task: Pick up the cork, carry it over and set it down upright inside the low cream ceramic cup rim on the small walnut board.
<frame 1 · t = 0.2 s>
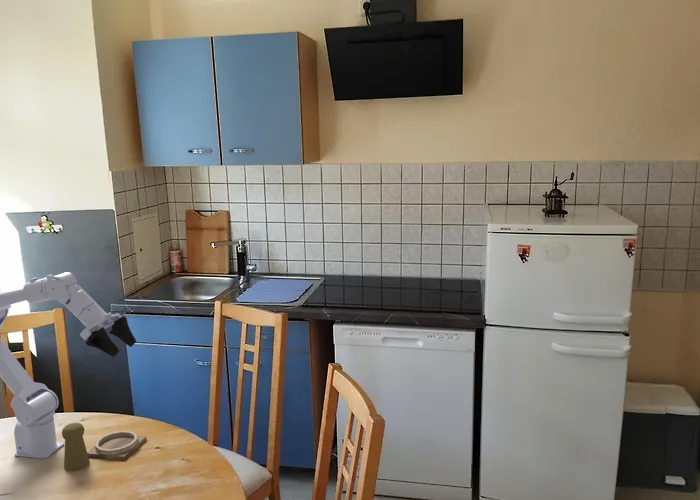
hand: (125, 349, 149), 30 cm above the table, tool tilted 45°, fingers open, 7 cm apart
cup holder: (117, 447, 161), on the table
cork: (77, 465, 153), on the table
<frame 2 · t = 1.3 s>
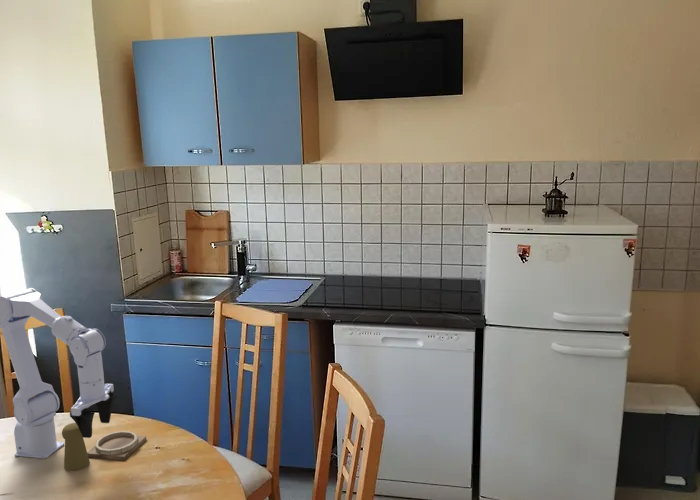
hand: (96, 429, 150), 10 cm above the table, tool pointing down, fingers open, 7 cm apart
nothing on the table moved.
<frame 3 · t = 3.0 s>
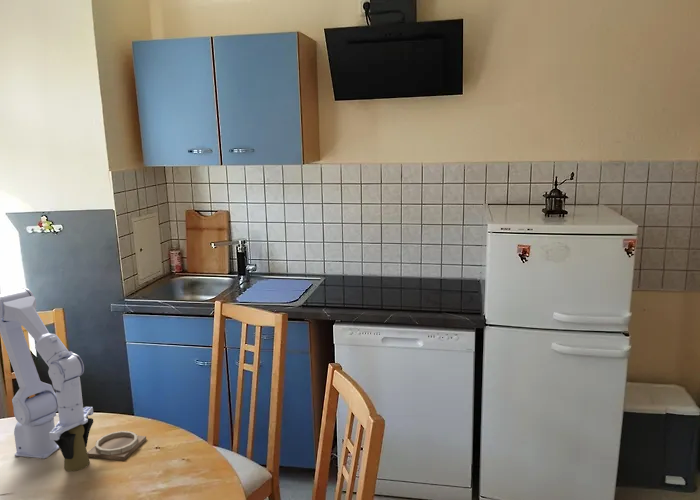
hand: (75, 452, 152), 3 cm above the table, tool pointing down, fingers closed on cork, 5 cm apart
cork: (77, 465, 153), on the table, touching gripper
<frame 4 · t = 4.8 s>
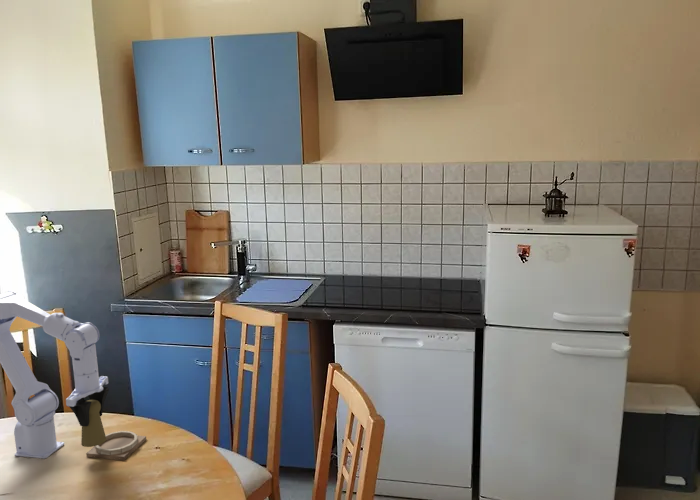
hand: (91, 420, 155), 10 cm above the table, tool pointing down, fingers closed on cork, 5 cm apart
cork: (94, 442, 155), point 4 cm above the table, touching gripper
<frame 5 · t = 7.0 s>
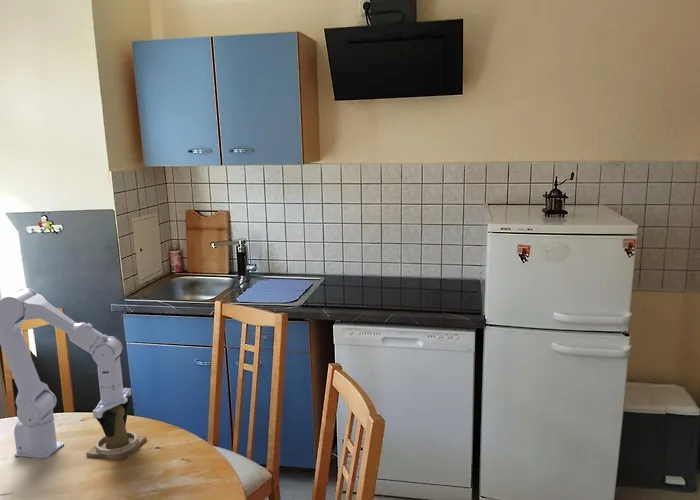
hand: (115, 430, 160), 5 cm above the table, tool pointing down, fingers closed on cork, 5 cm apart
cork: (117, 445, 161), point 1 cm above the table, touching cup holder, gripper
when the fingers open (5 cm above the table, at t = 7.5 s): cork stays where it is, resting on cup holder.
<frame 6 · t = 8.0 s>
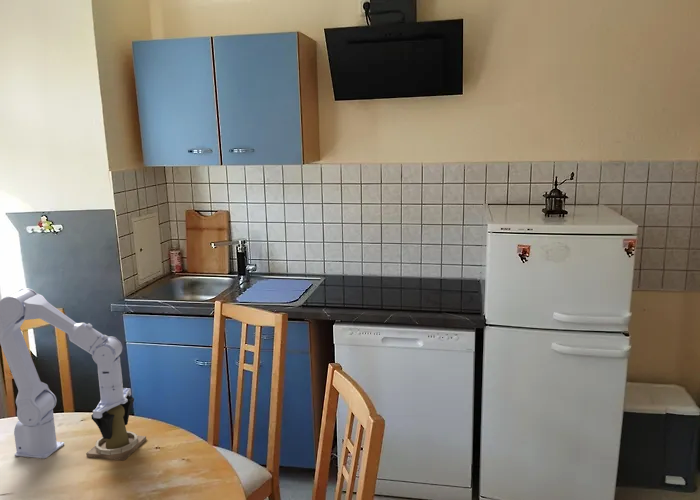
hand: (115, 431, 160), 5 cm above the table, tool pointing down, fingers open, 7 cm apart
cork: (117, 445, 161), point 1 cm above the table, touching cup holder
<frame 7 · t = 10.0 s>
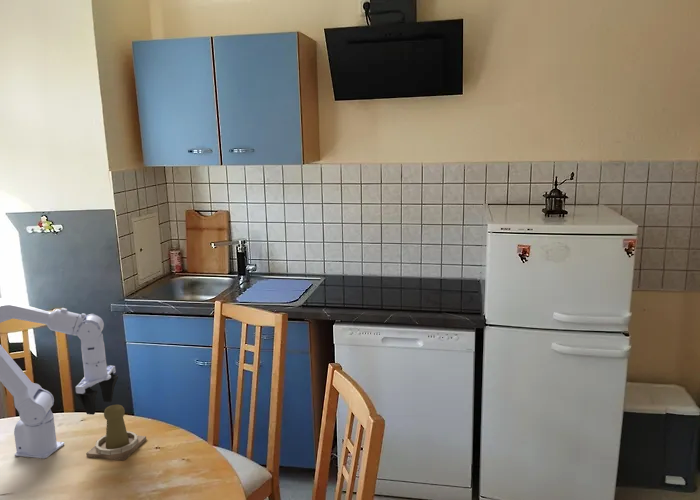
hand: (99, 407, 162), 10 cm above the table, tool pointing down, fingers open, 7 cm apart
nothing on the table moved.
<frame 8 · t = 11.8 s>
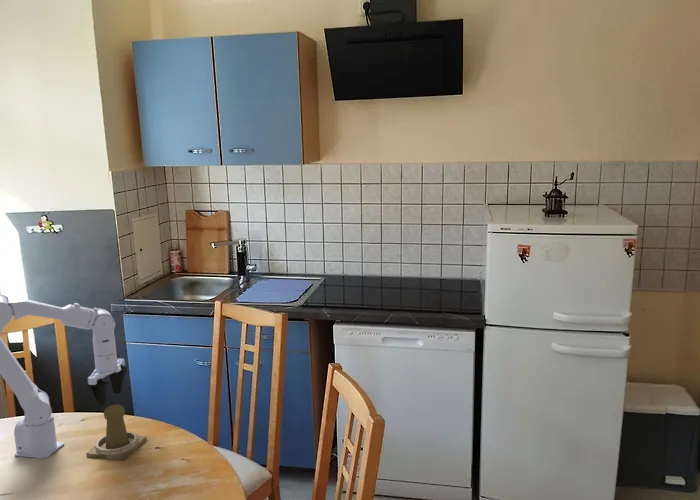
hand: (109, 398, 168), 10 cm above the table, tool pointing down, fingers open, 7 cm apart
nothing on the table moved.
at the end: cork 0.2 cm off-centre on the cup holder, point 0.8 cm above the cup holder's base; cork tilted 0°; the gripper is holding nothing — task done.
